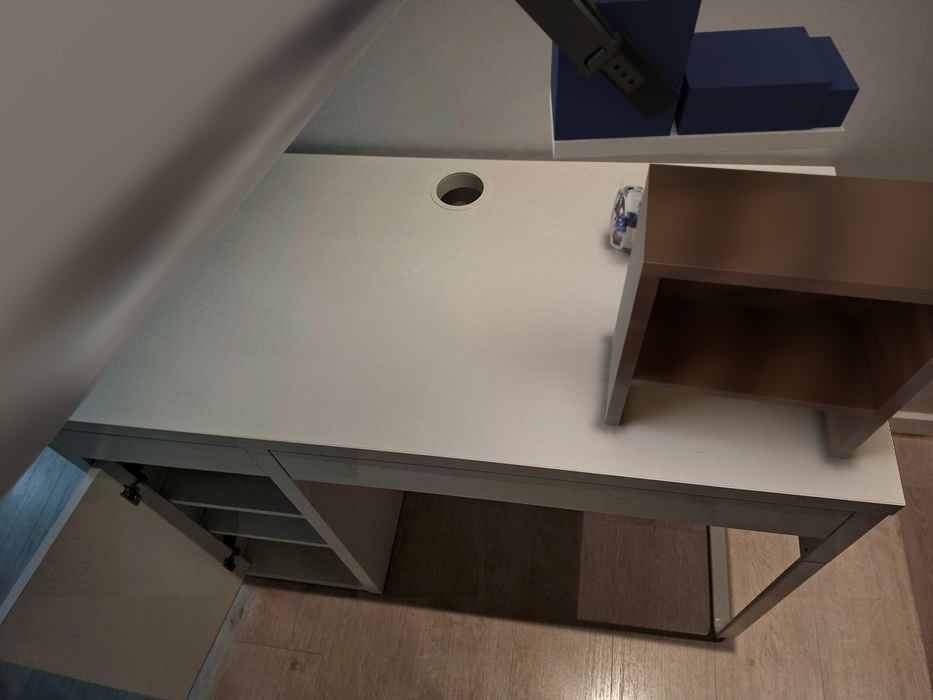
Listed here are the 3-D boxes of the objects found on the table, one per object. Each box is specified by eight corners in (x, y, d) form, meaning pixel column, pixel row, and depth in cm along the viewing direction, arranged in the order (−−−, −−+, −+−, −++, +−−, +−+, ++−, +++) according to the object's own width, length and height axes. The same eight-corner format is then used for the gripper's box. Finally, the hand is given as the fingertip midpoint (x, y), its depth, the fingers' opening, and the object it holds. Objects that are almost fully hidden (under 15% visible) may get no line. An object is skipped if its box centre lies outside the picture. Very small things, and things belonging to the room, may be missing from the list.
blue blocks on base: (553, 159, 49) (560, 6, 39) (549, 101, 53) (555, -49, 43) (836, 147, 47) (920, -16, 37) (807, 88, 51) (875, -72, 41)
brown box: (604, 423, 70) (643, 262, 47) (612, 341, 76) (649, 163, 53) (845, 459, 65) (1021, 298, 42) (832, 367, 72) (978, 184, 48)
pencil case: (608, 264, 84) (617, 212, 75) (606, 221, 88) (614, 168, 80) (772, 267, 81) (800, 213, 73) (761, 222, 86) (786, 167, 78)
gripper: (402, -172, 43) (605, 39, 54) (362, -40, 31) (631, 190, 43) (470, -287, 38) (677, -28, 50) (453, -181, 26) (727, 123, 38)
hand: (655, 73), depth 46 cm, fingers closed on blue blocks on base, 8 cm apart
